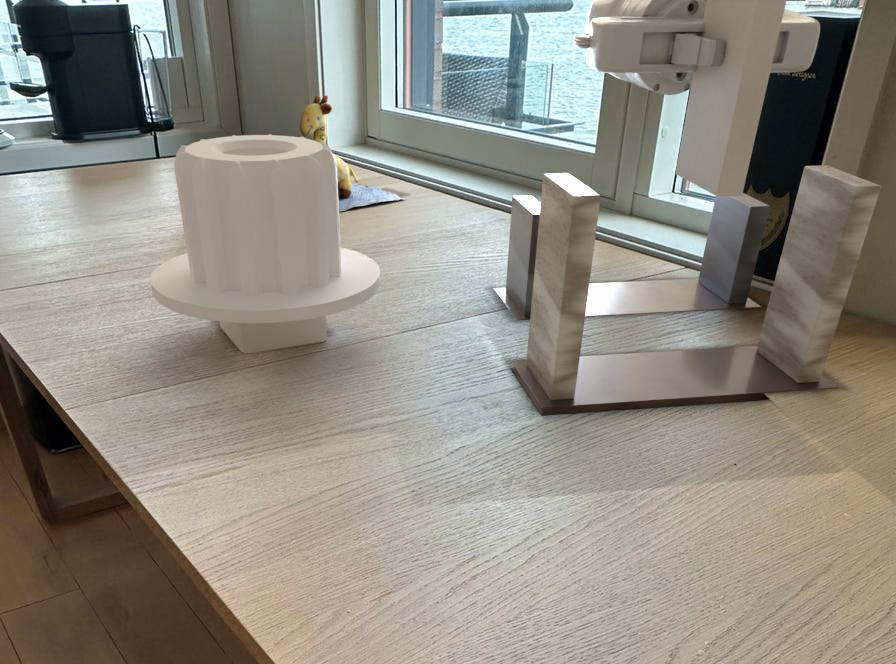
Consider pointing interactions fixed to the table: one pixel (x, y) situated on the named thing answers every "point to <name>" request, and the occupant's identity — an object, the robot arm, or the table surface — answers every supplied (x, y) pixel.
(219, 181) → the flanged gear
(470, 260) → the table surface
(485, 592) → the table surface
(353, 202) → the stuffed giraffe
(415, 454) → the table surface
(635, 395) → the marble pillar rack
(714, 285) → the grey stand
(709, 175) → the white rectangular block
